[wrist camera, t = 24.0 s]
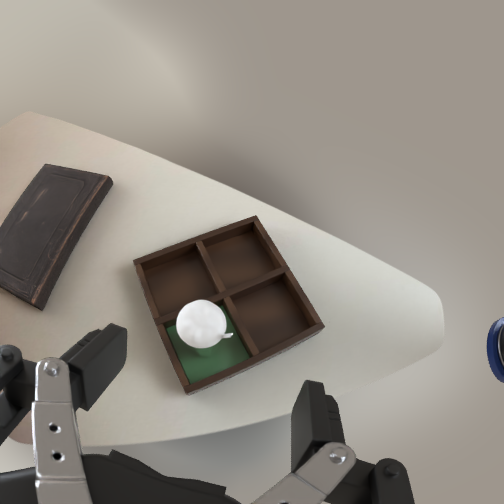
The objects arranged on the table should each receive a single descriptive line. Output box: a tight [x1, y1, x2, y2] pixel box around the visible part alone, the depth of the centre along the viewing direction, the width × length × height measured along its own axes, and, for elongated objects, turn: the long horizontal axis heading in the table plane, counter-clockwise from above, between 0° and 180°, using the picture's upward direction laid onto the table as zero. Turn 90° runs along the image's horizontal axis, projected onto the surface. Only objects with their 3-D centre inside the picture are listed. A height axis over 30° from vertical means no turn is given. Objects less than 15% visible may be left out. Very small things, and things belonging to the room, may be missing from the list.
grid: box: [133, 216, 325, 395], centre depth 36 cm, size 17×17×3 cm
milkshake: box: [176, 300, 233, 357], centre depth 29 cm, size 5×5×10 cm
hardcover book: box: [0, 164, 113, 310], centre depth 38 cm, size 16×23×2 cm
